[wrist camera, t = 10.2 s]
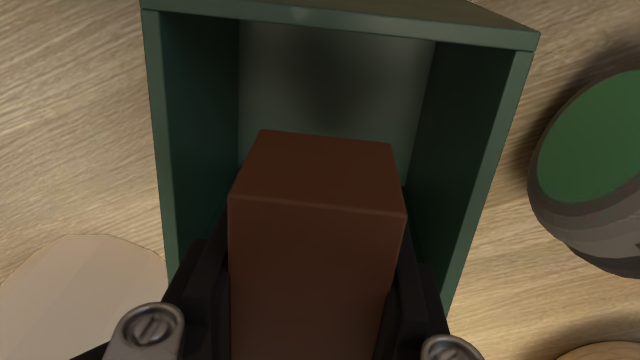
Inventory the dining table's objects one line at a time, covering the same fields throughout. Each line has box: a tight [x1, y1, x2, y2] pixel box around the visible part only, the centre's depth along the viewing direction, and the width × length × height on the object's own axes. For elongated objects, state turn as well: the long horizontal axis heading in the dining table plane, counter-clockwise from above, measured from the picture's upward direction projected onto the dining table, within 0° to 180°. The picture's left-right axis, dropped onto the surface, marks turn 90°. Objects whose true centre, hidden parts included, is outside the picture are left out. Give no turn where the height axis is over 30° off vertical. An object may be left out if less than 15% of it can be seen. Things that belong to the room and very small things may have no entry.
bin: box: [139, 0, 541, 318], centre depth 21 cm, size 12×12×12 cm
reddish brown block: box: [227, 129, 408, 360], centre depth 11 cm, size 7×4×4 cm, turn 175°
